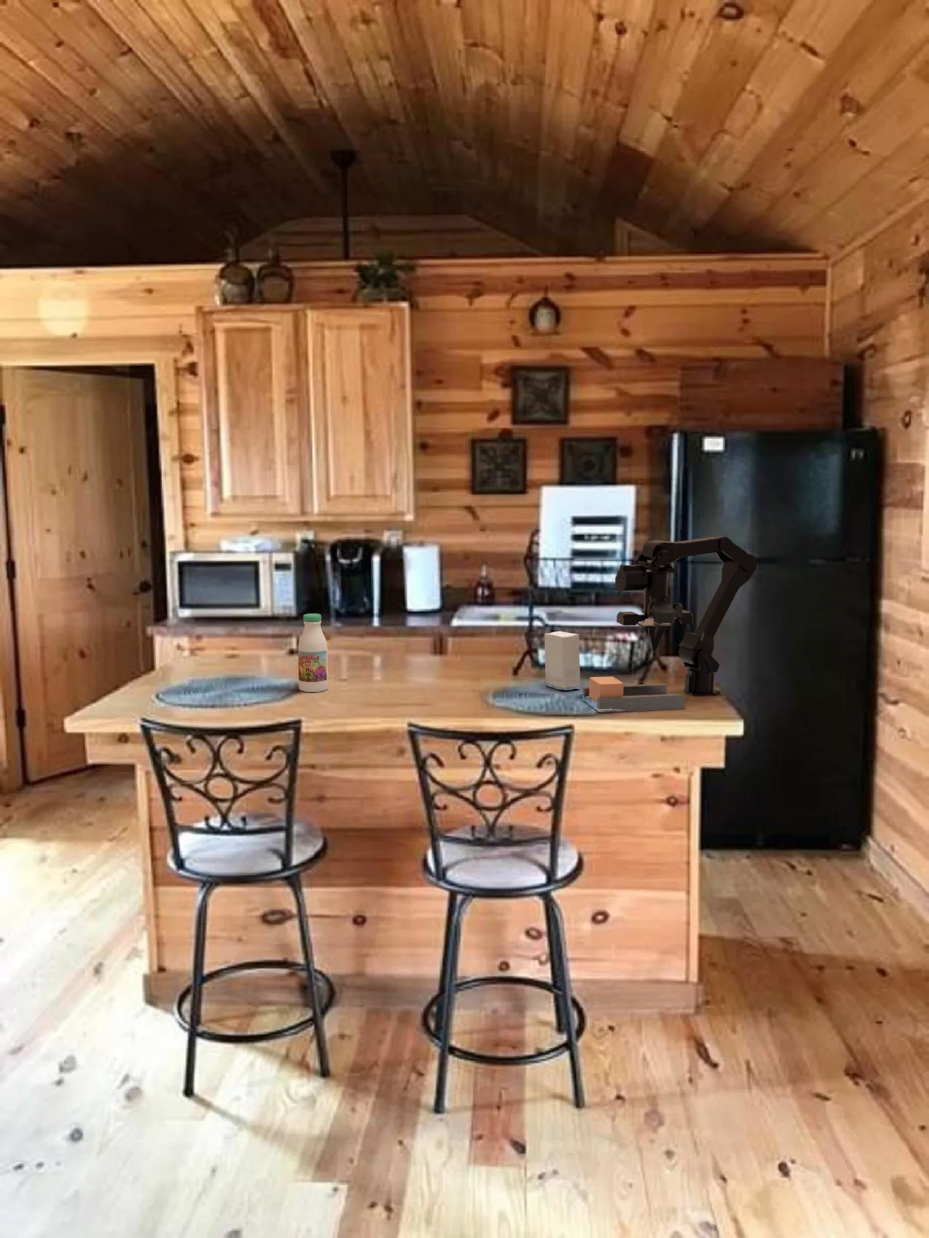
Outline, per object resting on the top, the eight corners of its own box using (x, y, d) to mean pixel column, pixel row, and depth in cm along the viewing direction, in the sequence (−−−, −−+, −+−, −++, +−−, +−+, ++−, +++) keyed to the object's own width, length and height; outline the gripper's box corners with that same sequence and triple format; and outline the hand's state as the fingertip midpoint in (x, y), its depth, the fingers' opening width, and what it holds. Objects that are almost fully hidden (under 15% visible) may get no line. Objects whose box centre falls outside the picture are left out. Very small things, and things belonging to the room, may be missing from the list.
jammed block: (611, 695, 262) (612, 676, 261) (622, 703, 254) (623, 683, 253) (589, 696, 261) (589, 677, 260) (599, 704, 253) (600, 684, 252)
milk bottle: (301, 686, 277) (299, 612, 274) (330, 686, 277) (328, 612, 274) (296, 692, 270) (295, 616, 266) (326, 692, 270) (325, 616, 267)
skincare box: (580, 689, 275) (581, 634, 273) (562, 692, 272) (563, 636, 269) (560, 683, 282) (561, 629, 280) (543, 686, 279) (544, 631, 276)
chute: (663, 696, 267) (664, 683, 267) (684, 709, 255) (684, 695, 254) (582, 700, 263) (582, 687, 262) (598, 713, 250) (599, 698, 250)
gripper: (632, 595, 253) (630, 658, 256) (703, 594, 257) (701, 655, 259) (616, 589, 264) (614, 650, 266) (685, 588, 268) (683, 647, 270)
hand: (653, 651), depth 265 cm, fingers closed
